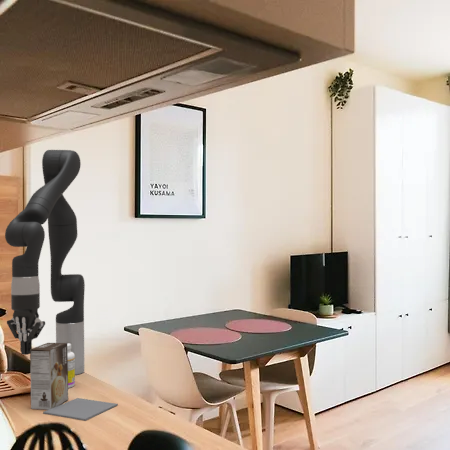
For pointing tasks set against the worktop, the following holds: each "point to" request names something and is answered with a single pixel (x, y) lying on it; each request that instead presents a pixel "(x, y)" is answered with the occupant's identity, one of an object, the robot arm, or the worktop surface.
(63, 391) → the coffee box
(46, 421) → the worktop surface
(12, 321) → the robot arm
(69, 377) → the supplement bottle
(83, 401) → the mat
